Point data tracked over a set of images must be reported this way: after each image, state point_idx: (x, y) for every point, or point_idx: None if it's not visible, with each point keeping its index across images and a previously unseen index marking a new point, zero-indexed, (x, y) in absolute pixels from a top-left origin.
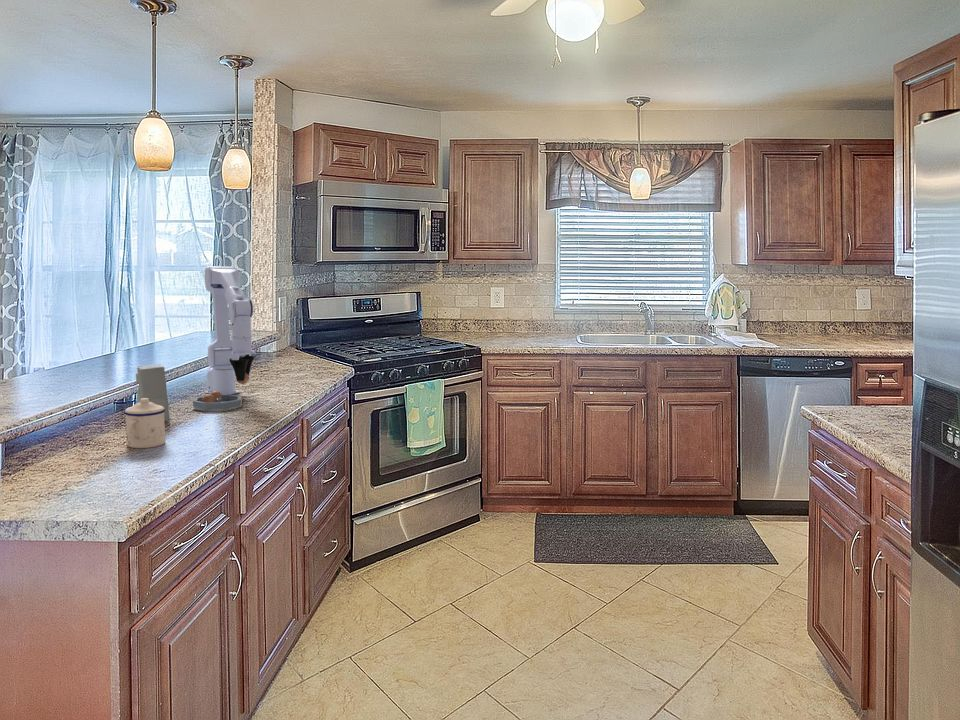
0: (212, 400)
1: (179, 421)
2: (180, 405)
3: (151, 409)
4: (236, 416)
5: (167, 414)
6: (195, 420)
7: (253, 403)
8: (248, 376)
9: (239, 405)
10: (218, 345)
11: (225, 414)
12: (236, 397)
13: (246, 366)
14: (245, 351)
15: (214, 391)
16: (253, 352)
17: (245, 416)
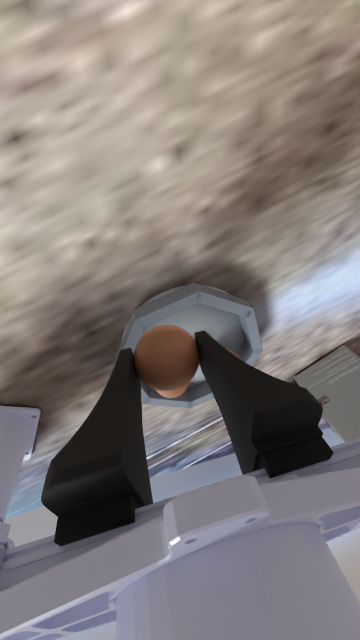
0: (233, 353)
1: (344, 329)
2: (187, 412)
3: None
4: (316, 227)
5: (357, 355)
6: (342, 305)
7: (105, 274)
8: (164, 339)
9: (198, 284)
10: None
11: (285, 274)
12: (140, 332)
13: (133, 411)
14: (312, 533)
15: (180, 391)
16: (255, 495)
17: (321, 195)
